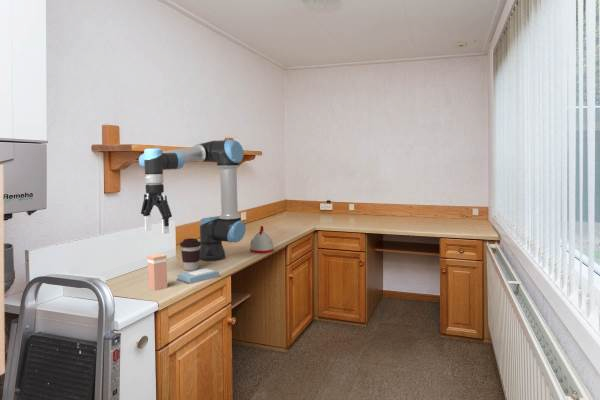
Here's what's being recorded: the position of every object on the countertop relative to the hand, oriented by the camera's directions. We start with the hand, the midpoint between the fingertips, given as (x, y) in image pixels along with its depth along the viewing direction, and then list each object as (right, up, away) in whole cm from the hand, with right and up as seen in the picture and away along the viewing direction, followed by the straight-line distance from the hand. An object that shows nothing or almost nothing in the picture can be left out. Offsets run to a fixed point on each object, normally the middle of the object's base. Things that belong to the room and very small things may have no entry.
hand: (156, 232), depth 197 cm
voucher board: (+16, -22, +9) cm, 29 cm away
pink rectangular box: (+3, -24, -6) cm, 24 cm away
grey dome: (+40, -17, +70) cm, 83 cm away
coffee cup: (+9, -21, +27) cm, 35 cm away
